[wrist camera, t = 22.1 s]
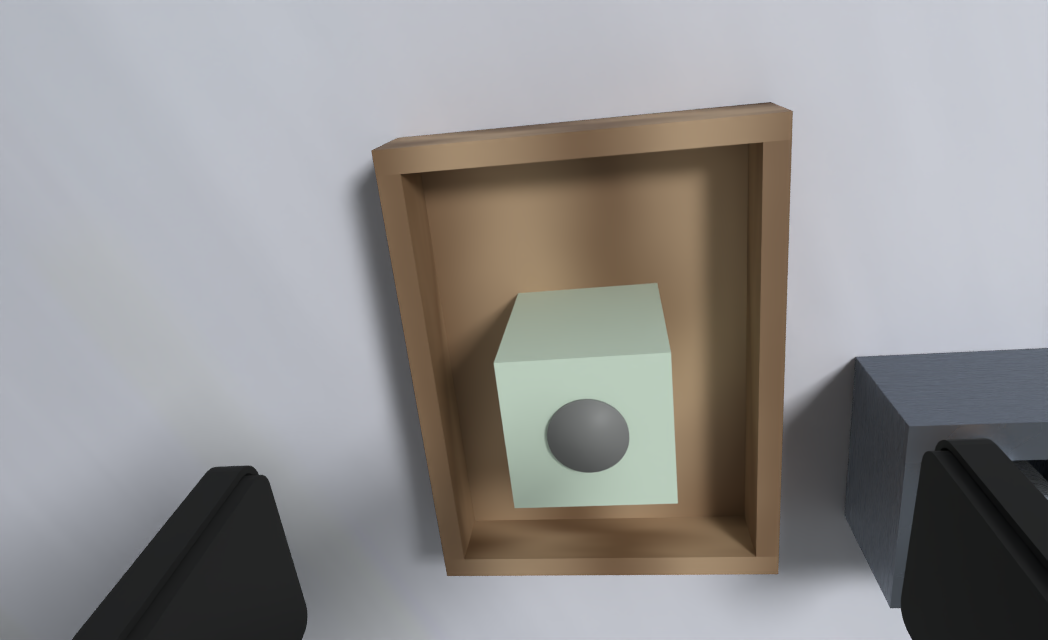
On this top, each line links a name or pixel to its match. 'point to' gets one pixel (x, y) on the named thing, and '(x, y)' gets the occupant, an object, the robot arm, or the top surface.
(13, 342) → the top surface
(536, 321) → the pale green block
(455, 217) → the tray
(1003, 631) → the robot arm
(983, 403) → the block
